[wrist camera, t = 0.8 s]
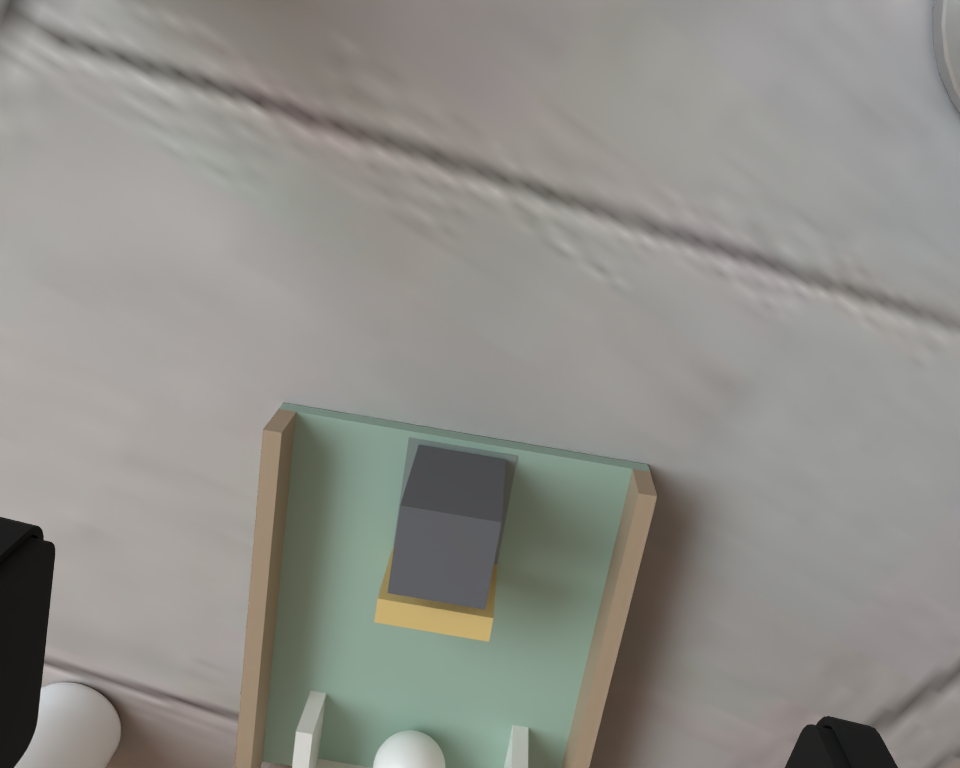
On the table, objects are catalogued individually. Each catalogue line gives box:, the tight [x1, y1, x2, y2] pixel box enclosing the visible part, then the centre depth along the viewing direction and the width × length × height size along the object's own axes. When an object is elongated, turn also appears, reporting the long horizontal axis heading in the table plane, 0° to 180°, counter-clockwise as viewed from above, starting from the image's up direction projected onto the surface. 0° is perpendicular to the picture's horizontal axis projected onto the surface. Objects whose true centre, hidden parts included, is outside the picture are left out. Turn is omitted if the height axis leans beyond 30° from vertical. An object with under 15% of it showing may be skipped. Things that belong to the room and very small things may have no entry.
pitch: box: [235, 403, 657, 768], centre depth 43 cm, size 17×20×3 cm
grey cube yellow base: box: [374, 445, 506, 642], centre depth 39 cm, size 5×7×6 cm
